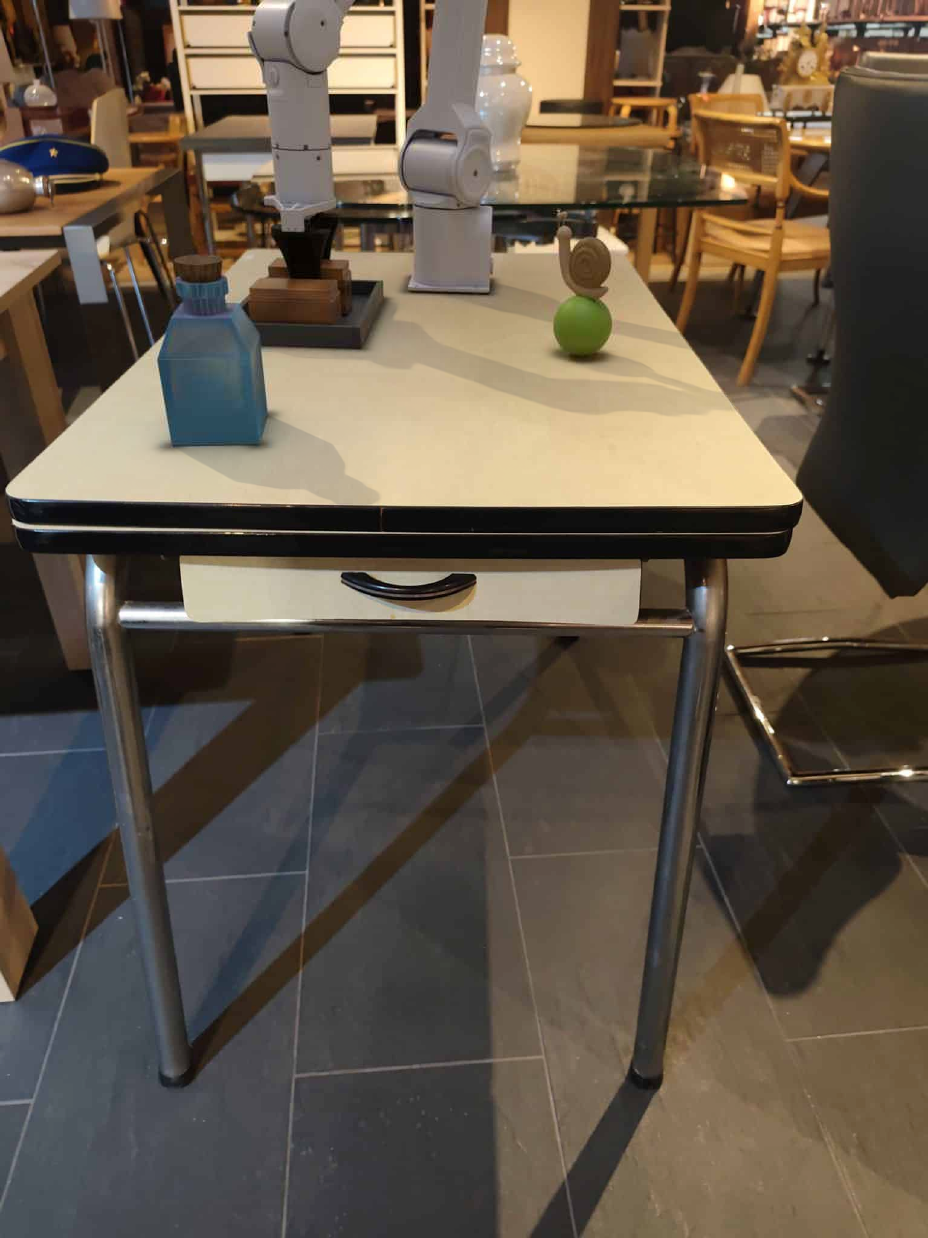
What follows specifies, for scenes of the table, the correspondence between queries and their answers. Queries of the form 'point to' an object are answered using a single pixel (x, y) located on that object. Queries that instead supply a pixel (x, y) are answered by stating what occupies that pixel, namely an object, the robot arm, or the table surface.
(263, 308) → the brown wooden block
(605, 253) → the snail figurine
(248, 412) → the perfume bottle
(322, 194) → the robot arm
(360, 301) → the tray
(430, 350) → the table surface
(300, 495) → the table surface
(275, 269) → the brown lidded wooden box
